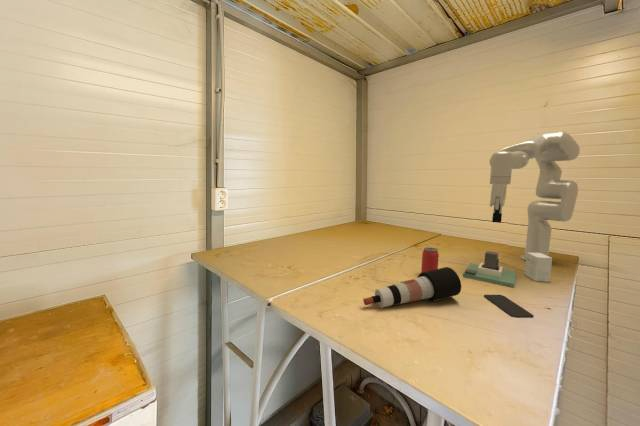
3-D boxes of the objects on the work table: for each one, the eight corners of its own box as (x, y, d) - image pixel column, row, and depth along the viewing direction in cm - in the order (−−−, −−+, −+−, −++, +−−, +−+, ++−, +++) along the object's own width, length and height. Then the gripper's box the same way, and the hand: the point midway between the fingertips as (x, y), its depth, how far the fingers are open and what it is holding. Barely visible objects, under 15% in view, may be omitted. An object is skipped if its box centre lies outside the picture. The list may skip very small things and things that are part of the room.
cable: (363, 317, 90) (355, 287, 93) (446, 295, 98) (437, 269, 101) (374, 318, 80) (366, 285, 83) (465, 294, 89) (454, 265, 92)
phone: (512, 316, 82) (482, 294, 96) (511, 318, 82) (482, 296, 97) (535, 316, 82) (502, 294, 96) (535, 318, 82) (502, 296, 97)
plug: (484, 270, 119) (486, 250, 118) (498, 272, 116) (500, 252, 115) (483, 272, 116) (485, 252, 115) (496, 275, 113) (498, 255, 112)
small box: (549, 282, 109) (553, 258, 108) (534, 281, 110) (537, 257, 109) (538, 275, 117) (541, 252, 116) (524, 274, 118) (526, 251, 117)
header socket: (480, 267, 122) (481, 262, 122) (502, 272, 117) (502, 266, 116) (477, 272, 116) (478, 267, 115) (500, 277, 110) (501, 271, 110)
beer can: (437, 274, 118) (439, 248, 116) (436, 279, 112) (438, 251, 110) (421, 271, 121) (423, 246, 119) (420, 276, 115) (422, 250, 113)
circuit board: (470, 266, 129) (470, 261, 129) (515, 274, 118) (516, 269, 117) (462, 276, 115) (463, 271, 115) (513, 287, 104) (514, 281, 104)
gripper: (491, 180, 122) (488, 219, 125) (487, 181, 111) (484, 223, 114) (511, 180, 118) (507, 220, 121) (509, 181, 106) (505, 225, 109)
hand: (496, 222), depth 117 cm, fingers closed
